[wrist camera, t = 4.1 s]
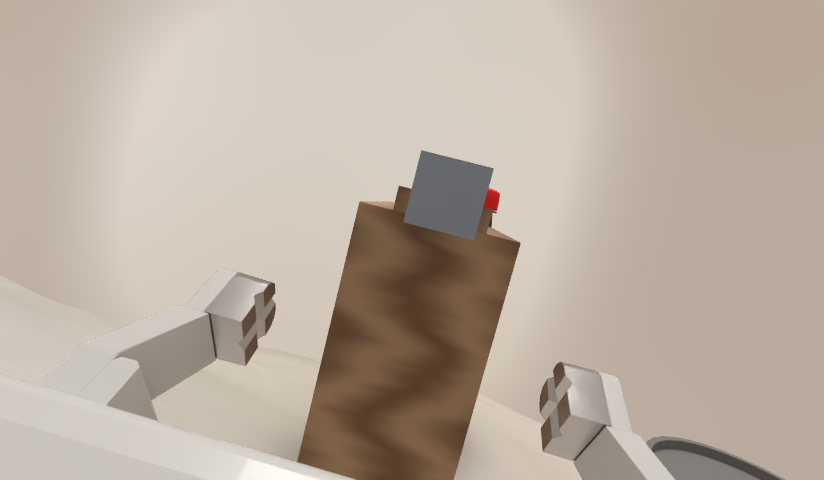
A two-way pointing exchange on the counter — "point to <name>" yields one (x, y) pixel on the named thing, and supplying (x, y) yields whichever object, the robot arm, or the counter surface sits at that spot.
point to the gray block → (448, 195)
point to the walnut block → (406, 346)
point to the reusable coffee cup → (703, 461)
